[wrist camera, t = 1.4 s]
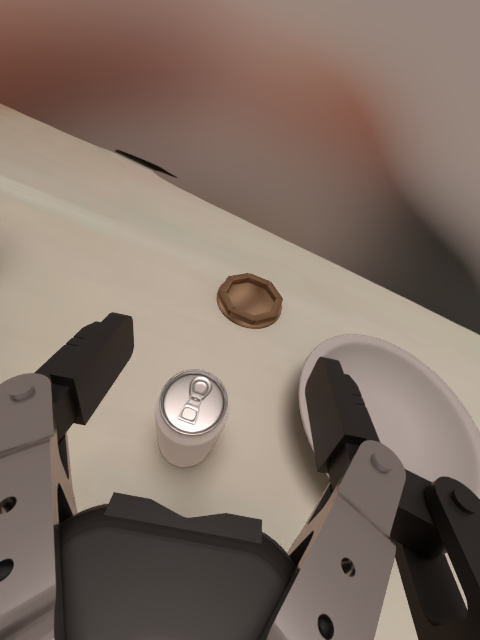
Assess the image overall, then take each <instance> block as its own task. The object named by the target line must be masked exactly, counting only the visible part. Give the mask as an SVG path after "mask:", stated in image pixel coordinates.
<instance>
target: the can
mask: <svg viewBox="0 0 480 640" xmlns="http://www.w3.org/2000/svg"><path fill="white" fill-rule="evenodd" d="M228 413H229V403H228V398H227V393H226V390H225V388H224V386H223V384H222V383H221V381H220V380H219V379H218V378H217V377H216V376H214V375H213V374H211V373H209V372H207V371H204V370H198V369H191V370H185V371H182V372H180V373H178V374H176V375H175V376H173V377H172V378H171V379H170V380H169V381H168V382H167V383H166V384H165V386H164V387H163V389H162V390H161V392H160V394H159V396H158V398H157V401H156V406H155V420H156V429H157V437H158V444H159V448H160V451H161V453H162V455H163V457H164V458H165V459H166V460H167V461H168V462H169V463H171V464H173V465H175V466H178V467H190V466H194V465H196V464H198V463H200V462H201V461H202V460H203V459H204V458H205V457H206V456H207V455H208V454H209V452H210V451H211V449H212V447H213V446H214V444H215V442H216V441H217V439H218V437H219V435H220V433H221V432H222V430H223V428H224V426H225V424H226V421H227V418H228Z"/></svg>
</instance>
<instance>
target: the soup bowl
mask: <svg viewBox="0 0 480 640" xmlns="http://www.w3.org/2000/svg"><path fill="white" fill-rule="evenodd" d="M319 357H326V358H330V359H335V360H339V362H340V364H341V366H342V369H343V372H344V374H348V375H350V377H351V378H352V379H353V380H354V381H355V383H356V384H357V385H358V387H359V390H360V392H361V395H362V398H363V400H364V402H365V407H367V410H368V412H369V415H370V417H371V420H372V422H373V425H374V427H375V430H376V432H377V435H378V437H379V440H380V442H381V443H382V444H384V445H385V446H387V447H388V448H389V449H391V450H392V451H393V452H394V453H395V454H396V455H397V457H398V458H399V459H400V461H401V462H402V464H403V466H404V468H405V469H407V470H408V471H410V472H412V473H414V474H416V475H418V476H420V477H422V478H424V479H426V480H428V481H430V482H434V481H435V480H436V479H438V478H439V477H442V476H446V477H450V478H453V479H455V480H457V481H459V482H461V483H462V484H464V485H465V486H467V487H468V488H469V489H470V490H471V491H472V492H473V493H474V494H475V495H476V496H477V497H478V498H479V499H480V433H479V431H478V429H477V427H476V425H475V423H474V421H473V420H472V418H471V416H470V415H469V413H468V411H467V410H466V408H465V407H464V405H463V404H462V403H461V401H460V400H459V399H458V397H457V396H456V395H455V394H454V392H453V391H452V390H451V389H450V388H449V387H448V386H447V384H446V383H445V382H444V381H443V380H442V379H441V378H440V377H439V376H438V375H437V374H436V373H435V372H433V371H432V370H431V369H430V368H429V367H428V366H426V365H425V364H424V363H423V362H421V361H420V360H419V359H417V358H416V357H415V356H413V355H411V354H410V353H408V352H407V351H405V350H403V349H401V348H400V347H398V346H396V345H394V344H391V343H389V342H387V341H384V340H381V339H378V338H375V337H371V336H366V335H358V334H347V335H340V336H336V337H333V338H330V339H328V340H326V341H324V342H323V343H321V344H319V345H318V346H317V347H316V348H315V349H314V350H313V351H312V352H311V353H310V355H309V356H308V358H307V359H306V361H305V364H304V366H303V369H302V372H301V376H300V380H299V389H298V399H299V409H300V414H301V419H302V423H303V427H304V430H305V433H306V436H307V438H308V441H309V443H310V446H311V448H312V450H313V452H314V447H313V440H312V434H311V428H310V422H309V416H308V410H307V404H306V398H305V387H306V383H307V380H308V378H309V376H310V374H311V372H312V370H313V368H314V366H315V364H316V362H317V360H318V358H319ZM314 454H315V453H314ZM326 475H327V476H328V478H329V474H328V473H326ZM329 479H330V478H329Z"/></svg>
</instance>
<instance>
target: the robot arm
mask: <svg viewBox="0 0 480 640" xmlns="http://www.w3.org/2000/svg"><path fill="white" fill-rule="evenodd" d="M133 349H134V335H133V319H132V317H131V316H128V315H123V314H118V313H113V312H112V313H110V314H109V315H108V316H107V317H106V318H105V319H104V320H103V321H102V322H94V323H92V324H90V325H87V326H85V327H83V328H82V329H81V330H80V331H79V332H78V333H77V334H76V335H75V336H74V338H71V339H70V340H69V341H68V342H67V343H66V345H64V346H63V347H62V348H61V349H60V350H58V351H57V352H56V353H55V354H54V355H53V356H52V357H51V358H50V359H49V360H48V361H47V362H46V363H44V364H43V365H42V366H41V367H40V368H39V369H38V370H37V371H36V372H35V373H30V374H22V375H19V376H16V377H13V378H10V379H8V380H6V381H5V382H3V383H1V384H0V640H374V636H375V632H376V628H377V625H378V621H379V617H380V613H381V609H382V605H383V601H384V597H385V593H386V589H387V585H388V581H389V577H390V573H391V570H392V566H393V562H394V558H396V561H397V565H398V568H399V572H400V576H401V579H402V583H403V586H404V590H405V593H406V597H407V600H408V604H409V608H410V611H411V615H412V618H413V622H414V625H415V629H416V632H417V636H418V640H480V499H479V498H478V497H477V496H476V495H475V494H474V493H473V492H472V491H471V490H470V489H469V488H468V487H467V486H465V485H464V484H462V483H461V482H459V481H457V480H455V479H453V478H450V477H446V476H442V477H439V478H438V479H436V480H435V481H434V482H430V481H428V480H426V479H424V478H422V477H420V476H418V475H416V474H414V473H412V472H410V471H408V470H407V469H405V468H404V466H403V464H402V462H401V461H400V459H399V458H398V457H397V455H396V454H395V453H394V452H393V451H392V450H391V449H389V448H388V447H387V446H385V445H384V444H382V443H381V442H380V440H379V437H378V435H377V432H376V430H375V427H374V425H373V422H372V420H371V417H370V415H369V412H368V410H367V407H365V402H364V400H363V398H362V395H361V392H360V390H359V387H358V385H357V384H356V383H355V381H354V380H353V379H352V378H351V377H350V375H348V374H344V372H343V369H342V366H341V364H340V362H339V360H335V359H330V358H326V357H319V358H318V360H317V362H316V364H315V366H314V368H313V370H312V372H311V374H310V376H309V378H308V380H307V383H306V387H305V398H306V404H307V410H308V416H309V422H310V428H311V434H312V440H313V447H314V453H315V459H316V465H317V471H318V472H322V473H328V474H329V478H330V482H329V484H328V485H327V487H326V489H325V490H324V492H323V494H322V496H321V497H320V499H319V501H318V503H317V504H316V506H315V508H314V510H313V512H312V513H311V515H310V517H309V519H308V520H307V522H306V524H305V526H304V527H303V529H302V531H301V532H300V534H299V535H298V537H297V538H296V539H295V541H294V542H293V544H292V546H291V547H290V549H289V550H288V552H287V553H286V551H285V550H284V549H283V548H282V547H281V546H280V545H279V544H278V543H277V542H276V541H275V540H273V539H272V538H271V537H269V536H268V535H267V534H265V533H263V532H262V520H260V519H254V518H249V517H244V516H238V515H233V514H228V513H224V514H216V515H209V516H201V517H193V518H185V517H182V516H180V515H179V514H177V513H175V512H173V511H171V510H170V509H168V508H166V507H164V506H162V505H160V504H159V503H157V502H155V501H153V500H151V499H147V498H142V497H136V496H131V495H126V494H120V493H115V492H114V493H113V496H112V498H111V500H110V502H109V504H103V505H99V506H95V507H92V508H89V509H86V510H84V511H81V512H79V513H77V509H76V502H75V497H74V493H73V487H72V479H71V469H70V458H69V448H68V437H67V431H68V429H69V428H70V427H71V425H72V424H73V423H76V424H81V425H86V423H87V422H88V420H89V419H90V417H91V416H92V414H93V413H94V411H95V410H96V408H97V407H98V405H99V404H100V402H101V401H102V399H103V398H104V396H105V395H106V393H107V392H108V390H109V389H110V388H111V386H112V385H113V383H114V382H115V380H116V379H117V377H118V376H119V374H120V373H121V371H122V370H123V368H124V367H125V365H126V364H127V362H128V361H129V359H130V358H131V355H132V353H133ZM445 553H448V555H449V558H450V560H451V562H452V565H453V567H454V570H455V572H456V574H457V577H458V579H459V582H460V584H461V586H462V589H463V591H464V594H465V596H466V600H467V605H468V611H467V608H466V606H465V603H464V601H463V598H462V596H461V594H460V591H459V589H458V586H457V584H456V581H455V579H454V576H453V574H452V571H451V569H450V567H449V564H448V562H447V559H446V557H445Z"/></svg>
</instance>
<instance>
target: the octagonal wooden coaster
mask: <svg viewBox="0 0 480 640" xmlns="http://www.w3.org/2000/svg"><path fill="white" fill-rule="evenodd" d="M282 301H283V299H282V297H281V295H280V294H279V292H278V291H277V290H276V288H275V287H274V285H273V284H272V282H271V283H270V281H268V280H265V279H263V278H260V277H258V276H255V275H253V274H251V273H250V274H249V273H246V274H240V275H233V276H229V277H227V279H226V281H225V282H224V283H223V284H222V285H221V286H220V288H219V290H218V293H217V303H218V306H219V309H220V310H221V312H222V313H223V314H224V315H225V316H226V317H227V318H228V319H229V320H230V321H232V322H234V323H236V324H238V325H240V326H243V327H247V328H256V329H257V328H264V327H267V326H270V325H272V324H273V323H274V322H275V321H276V320H277V319H278V318H279V316H280V314H281V310H282Z"/></svg>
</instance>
